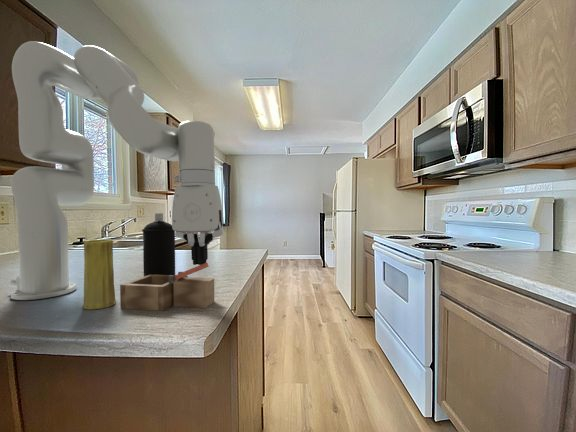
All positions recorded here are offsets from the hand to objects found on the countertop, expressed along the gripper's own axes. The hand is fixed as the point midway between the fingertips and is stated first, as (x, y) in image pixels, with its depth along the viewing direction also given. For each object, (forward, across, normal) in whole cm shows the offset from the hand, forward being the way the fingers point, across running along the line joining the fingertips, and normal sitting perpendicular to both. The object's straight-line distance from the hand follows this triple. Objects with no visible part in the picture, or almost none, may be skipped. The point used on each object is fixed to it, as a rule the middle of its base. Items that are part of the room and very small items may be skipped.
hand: (199, 263), depth 64 cm
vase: (+9, -22, -4) cm, 24 cm away
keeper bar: (+2, -2, 0) cm, 3 cm away
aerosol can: (+9, -17, +10) cm, 22 cm away
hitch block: (+9, -7, 0) cm, 11 cm away
